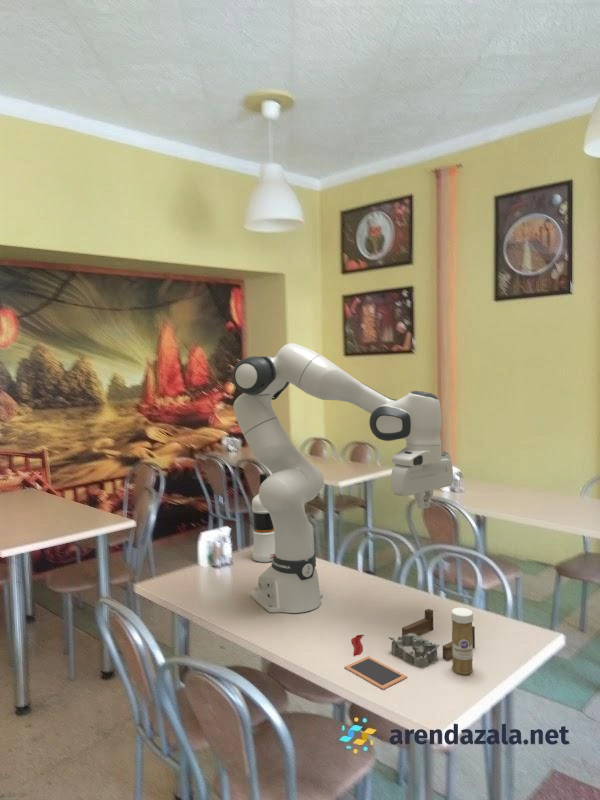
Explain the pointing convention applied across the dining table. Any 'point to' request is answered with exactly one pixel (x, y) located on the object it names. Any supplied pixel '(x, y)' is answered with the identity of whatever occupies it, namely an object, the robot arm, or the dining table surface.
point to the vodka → (262, 530)
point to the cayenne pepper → (357, 645)
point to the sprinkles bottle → (462, 640)
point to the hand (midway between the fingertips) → (423, 507)
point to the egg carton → (415, 649)
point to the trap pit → (376, 672)
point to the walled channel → (427, 625)
